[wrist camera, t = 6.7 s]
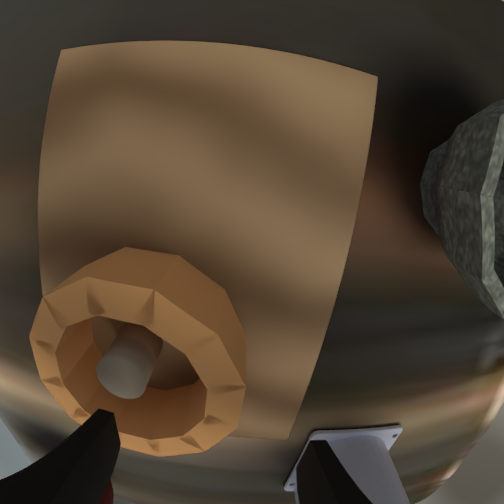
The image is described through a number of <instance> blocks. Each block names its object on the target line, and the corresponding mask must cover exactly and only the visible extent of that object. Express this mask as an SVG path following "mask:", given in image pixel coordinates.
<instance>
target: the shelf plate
mask: <svg viewBox="0 0 504 504" xmlns="http://www.w3.org/2000/svg"><path fill="white" fill-rule="evenodd" d="M377 81H378V77H377V76H374V75H371V74H368V73H365V72H362V71H358V70H355V69H352V68H349V67H345V66H342V65H338V64H334V63H331V62H327V61H323V60H319V59H315V58H311V57H306V56H302V55H297V54H292V53H287V52H282V51H276V50H270V49H264V48H258V47H250V46H243V45H234V44H224V43H212V42H196V41H135V42H120V43H108V44H98V45H90V46H83V47H76V48H70V49H64V50H61V53H60V57H59V60H58V64H57V68H56V72H55V76H54V80H53V84H52V89H51V93H50V98H49V103H48V108H47V114H46V120H45V126H44V133H43V141H42V149H41V159H40V171H39V187H38V248H39V264H40V276H41V285H42V294H43V296H45V295H46V294H47V293H49V292H50V291H51V290H53V289H54V288H55V287H57V286H58V285H59V284H61V283H62V282H63V281H65V280H66V279H67V278H69V277H70V276H71V275H73V274H74V273H76V272H77V271H78V270H80V269H81V268H83V267H84V266H86V265H88V264H90V263H92V262H94V261H96V260H98V259H100V258H102V257H105V256H107V255H109V254H111V253H113V252H115V251H118V250H120V249H122V248H124V247H129V248H135V249H142V250H148V251H155V252H161V253H168V254H174V255H179V256H181V257H182V258H183V259H184V260H186V261H187V262H188V263H190V264H191V265H192V266H194V267H195V268H196V269H198V270H199V271H201V272H202V273H203V274H205V275H206V276H207V277H209V278H210V279H211V280H213V281H214V282H215V283H217V284H218V285H220V286H221V287H222V288H224V289H225V291H226V293H227V295H228V297H229V299H230V301H231V304H232V306H233V308H234V310H235V312H236V314H237V317H238V319H239V321H240V323H241V325H242V327H243V329H244V332H245V334H246V390H245V395H244V399H243V404H242V409H241V414H240V418H239V423H238V428H237V429H235V430H234V431H233V432H231V433H230V434H229V435H227V436H236V437H247V438H260V439H279V440H287V439H288V436H289V434H290V431H291V429H292V427H293V424H294V422H295V419H296V416H297V414H298V411H299V409H300V406H301V403H302V401H303V398H304V395H305V393H306V390H307V387H308V384H309V382H310V379H311V376H312V373H313V370H314V367H315V364H316V361H317V358H318V355H319V352H320V349H321V346H322V343H323V340H324V337H325V334H326V330H327V327H328V324H329V321H330V317H331V314H332V310H333V307H334V304H335V300H336V296H337V293H338V289H339V286H340V282H341V278H342V274H343V270H344V267H345V263H346V259H347V255H348V250H349V246H350V242H351V238H352V233H353V229H354V225H355V220H356V215H357V211H358V206H359V201H360V196H361V191H362V186H363V180H364V175H365V169H366V163H367V157H368V151H369V145H370V138H371V131H372V124H373V117H374V109H375V100H376V91H377ZM91 323H92V332H93V341H94V343H95V344H96V346H97V347H98V349H99V350H100V352H101V353H102V355H103V357H102V359H101V360H100V362H99V363H98V365H97V368H96V374H97V377H98V379H99V381H100V383H101V384H102V385H103V386H104V387H105V388H106V389H107V390H108V391H109V392H111V393H112V394H114V395H116V396H118V397H121V398H125V399H135V398H138V397H140V396H141V395H142V394H143V393H144V391H145V388H146V386H147V387H152V388H156V389H161V390H170V389H175V388H179V387H184V386H188V385H192V384H194V383H195V382H196V381H197V380H198V379H199V378H200V377H199V376H198V374H197V372H196V371H195V369H194V367H193V366H192V364H191V363H190V361H189V359H188V358H187V356H186V354H184V353H183V352H181V351H180V350H178V349H177V348H175V347H174V346H172V345H171V344H169V343H168V342H166V341H165V340H163V339H162V338H161V337H159V336H158V335H156V334H155V333H153V332H152V331H150V330H149V329H148V328H146V327H145V326H143V325H139V324H134V323H130V322H125V321H120V320H116V319H112V318H107V317H103V316H99V315H97V316H94V317H92V318H91Z"/></svg>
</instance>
